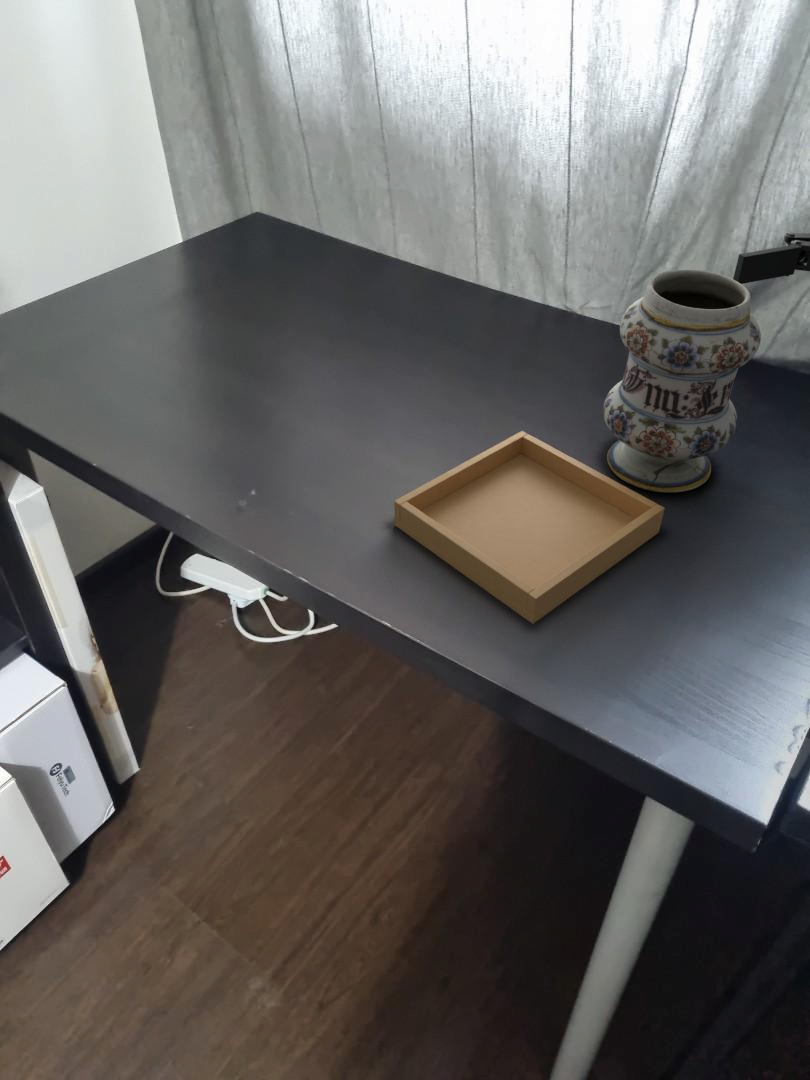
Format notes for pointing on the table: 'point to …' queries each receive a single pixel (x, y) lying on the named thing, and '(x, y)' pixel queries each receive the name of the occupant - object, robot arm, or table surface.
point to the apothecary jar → (679, 378)
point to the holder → (528, 523)
